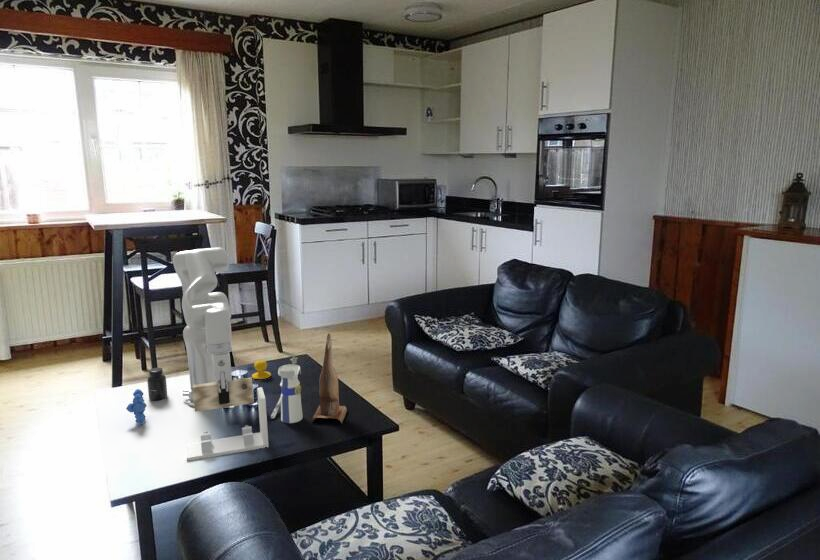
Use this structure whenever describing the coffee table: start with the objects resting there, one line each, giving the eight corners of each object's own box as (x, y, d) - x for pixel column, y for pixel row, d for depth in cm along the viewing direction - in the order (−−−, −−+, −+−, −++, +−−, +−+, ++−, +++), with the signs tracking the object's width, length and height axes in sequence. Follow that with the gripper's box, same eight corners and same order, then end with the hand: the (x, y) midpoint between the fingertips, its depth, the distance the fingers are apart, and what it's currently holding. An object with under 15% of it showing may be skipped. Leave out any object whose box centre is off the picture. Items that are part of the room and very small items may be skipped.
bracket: (296, 389, 234) (291, 372, 228) (281, 433, 218) (275, 416, 211) (288, 389, 235) (283, 372, 228) (273, 433, 218) (267, 415, 212)
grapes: (128, 417, 215) (124, 387, 213) (148, 414, 218) (145, 383, 215) (127, 430, 205) (123, 398, 202) (148, 427, 207) (144, 395, 205)
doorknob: (266, 380, 250) (248, 379, 251) (273, 374, 258) (256, 373, 259) (265, 364, 248) (247, 363, 250) (272, 358, 256) (255, 357, 258)
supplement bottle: (149, 402, 228) (146, 373, 226) (148, 396, 234) (145, 368, 232) (168, 399, 231) (165, 370, 229) (166, 393, 237) (164, 365, 235)
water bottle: (308, 415, 215) (305, 350, 210) (295, 425, 207) (291, 357, 202) (290, 411, 218) (286, 347, 213) (276, 421, 211) (271, 354, 206)
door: (195, 412, 184) (192, 388, 182) (195, 408, 187) (192, 385, 185) (254, 404, 190) (252, 380, 188) (253, 400, 193) (251, 377, 191)
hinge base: (187, 461, 183) (182, 410, 180) (187, 446, 192) (182, 398, 189) (268, 447, 191) (265, 398, 188) (265, 434, 201) (262, 387, 197)
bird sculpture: (311, 425, 208) (307, 339, 201) (317, 410, 219) (313, 328, 212) (342, 425, 208) (339, 339, 200) (347, 410, 219) (344, 328, 212)
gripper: (233, 352, 179) (238, 409, 182) (230, 338, 194) (234, 391, 197) (207, 355, 176) (212, 413, 180) (206, 341, 191) (211, 394, 195)
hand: (224, 401), depth 188 cm, fingers closed on door, 2 cm apart
